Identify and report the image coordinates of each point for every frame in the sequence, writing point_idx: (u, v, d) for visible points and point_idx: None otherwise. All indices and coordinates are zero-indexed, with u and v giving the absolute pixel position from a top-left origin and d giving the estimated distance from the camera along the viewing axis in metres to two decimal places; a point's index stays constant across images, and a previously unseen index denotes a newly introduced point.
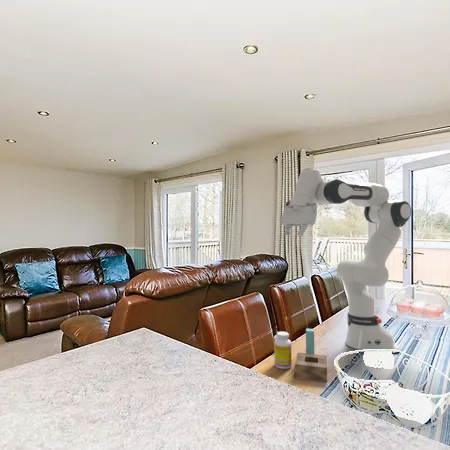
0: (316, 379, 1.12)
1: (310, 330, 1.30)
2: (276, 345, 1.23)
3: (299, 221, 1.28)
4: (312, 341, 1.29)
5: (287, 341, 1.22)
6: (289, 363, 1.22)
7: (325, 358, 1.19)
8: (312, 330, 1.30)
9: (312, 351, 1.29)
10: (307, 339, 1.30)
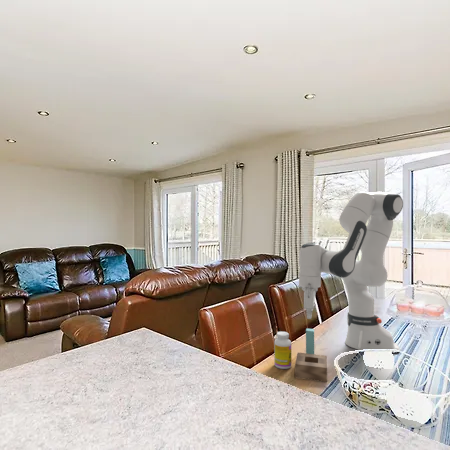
0: (316, 379, 1.12)
1: (310, 330, 1.30)
2: (276, 345, 1.23)
3: None
4: (312, 341, 1.29)
5: (287, 341, 1.22)
6: (289, 363, 1.22)
7: (325, 358, 1.19)
8: (312, 330, 1.30)
9: (312, 351, 1.29)
10: (307, 339, 1.30)
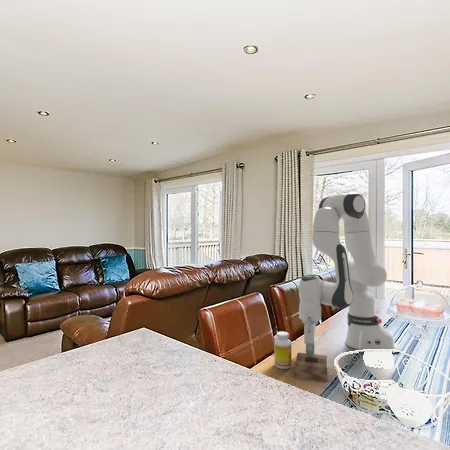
0: (316, 379, 1.12)
1: None
2: (276, 345, 1.23)
3: None
4: None
5: (287, 341, 1.22)
6: (289, 363, 1.22)
7: (325, 358, 1.19)
8: None
9: (312, 350, 1.29)
10: None
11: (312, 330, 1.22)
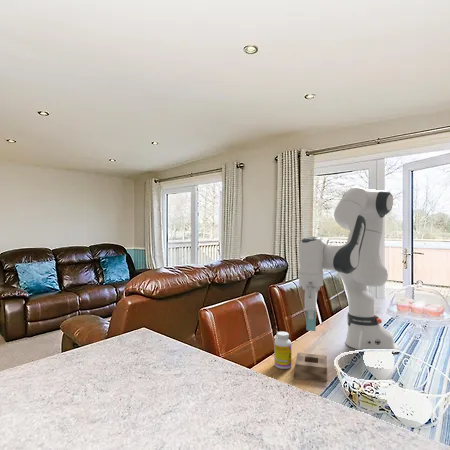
0: (316, 379, 1.12)
1: None
2: (276, 345, 1.23)
3: None
4: None
5: (287, 341, 1.22)
6: (289, 363, 1.22)
7: (325, 358, 1.19)
8: None
9: (313, 320, 1.16)
10: None
11: (313, 295, 1.09)
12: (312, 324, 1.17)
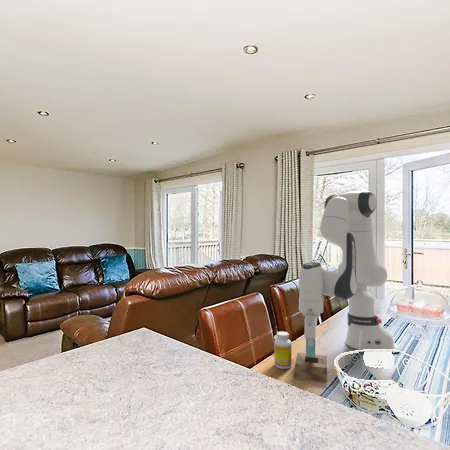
0: (316, 379, 1.12)
1: None
2: (276, 345, 1.23)
3: None
4: None
5: (287, 341, 1.22)
6: (289, 363, 1.22)
7: (325, 358, 1.19)
8: None
9: (313, 346, 1.16)
10: None
11: (313, 323, 1.09)
12: (312, 350, 1.16)
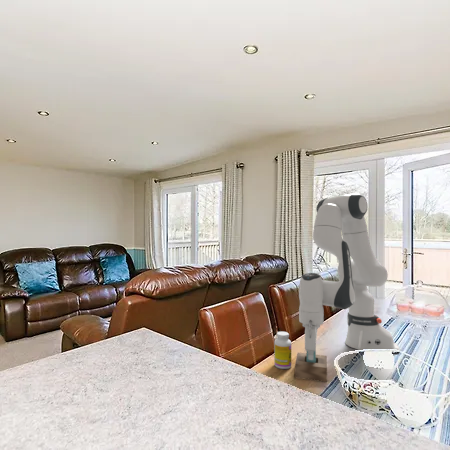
0: (316, 379, 1.12)
1: None
2: (276, 345, 1.23)
3: None
4: None
5: (287, 341, 1.22)
6: (289, 363, 1.22)
7: (325, 358, 1.19)
8: None
9: None
10: None
11: (314, 335, 1.09)
12: None
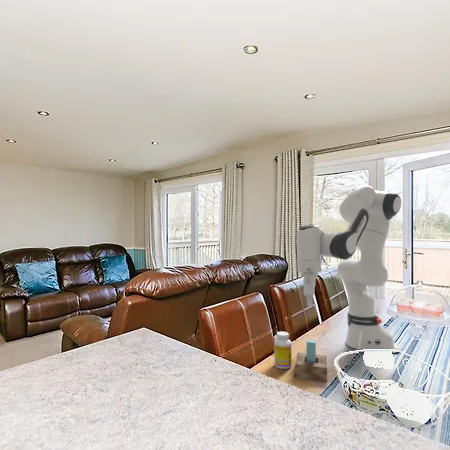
0: (316, 379, 1.12)
1: (311, 341, 1.18)
2: (276, 345, 1.23)
3: None
4: (313, 354, 1.16)
5: (287, 341, 1.22)
6: (289, 363, 1.22)
7: (325, 358, 1.19)
8: (313, 341, 1.18)
9: None
10: (308, 351, 1.17)
11: (312, 280, 1.12)
12: None
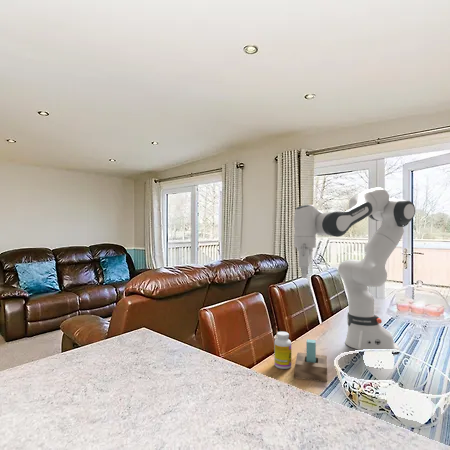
0: (316, 379, 1.12)
1: (311, 341, 1.18)
2: (276, 345, 1.23)
3: None
4: (313, 353, 1.16)
5: (287, 341, 1.22)
6: (289, 363, 1.22)
7: (325, 358, 1.19)
8: (313, 341, 1.18)
9: None
10: (308, 351, 1.17)
11: (306, 253, 1.23)
12: None
